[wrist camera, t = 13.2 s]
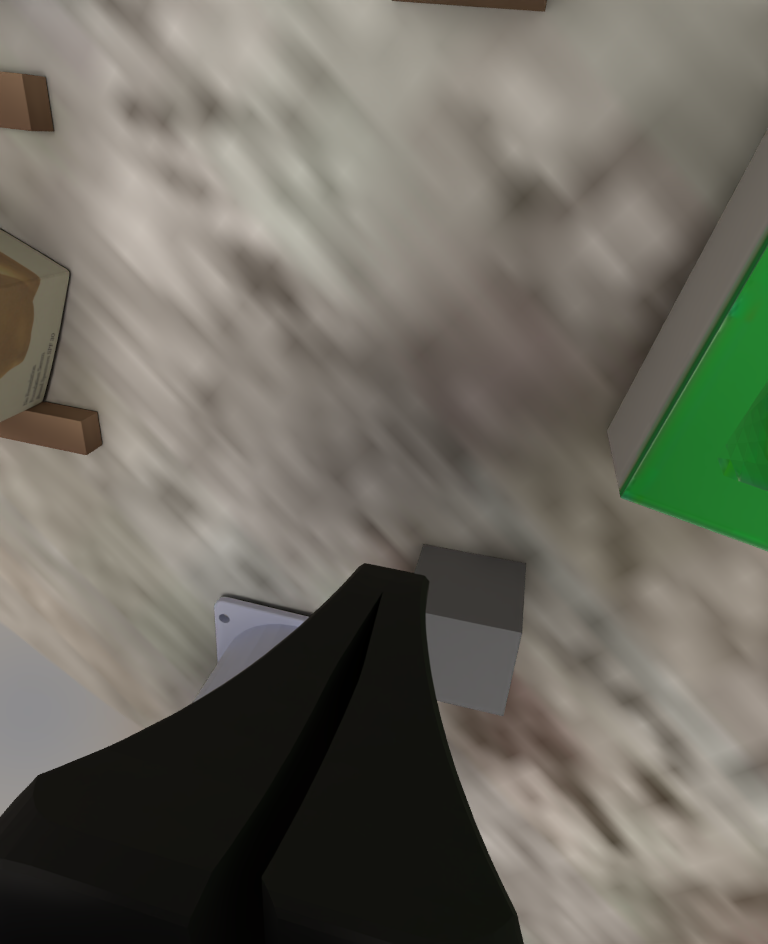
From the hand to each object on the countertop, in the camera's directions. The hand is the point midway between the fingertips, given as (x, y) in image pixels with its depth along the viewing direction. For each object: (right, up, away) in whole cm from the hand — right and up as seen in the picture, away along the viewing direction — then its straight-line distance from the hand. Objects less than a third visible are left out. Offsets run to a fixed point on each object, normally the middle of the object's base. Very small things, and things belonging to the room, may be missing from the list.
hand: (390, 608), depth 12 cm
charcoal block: (+3, -2, +13) cm, 13 cm away
